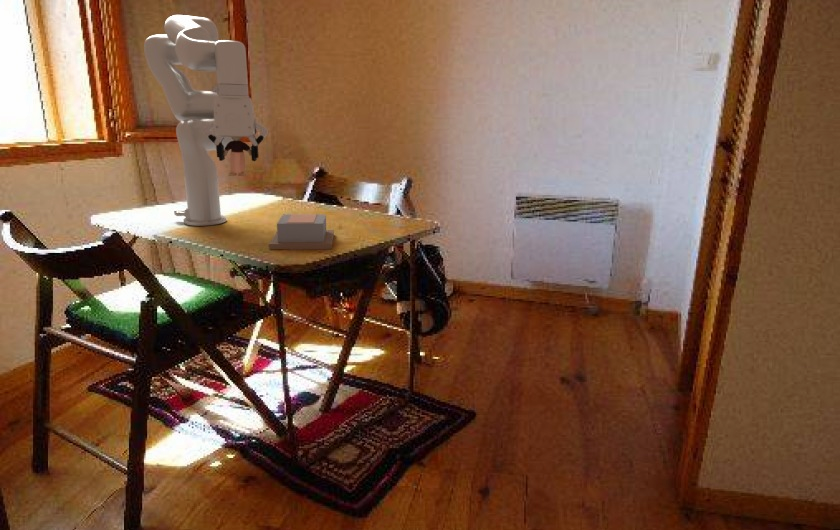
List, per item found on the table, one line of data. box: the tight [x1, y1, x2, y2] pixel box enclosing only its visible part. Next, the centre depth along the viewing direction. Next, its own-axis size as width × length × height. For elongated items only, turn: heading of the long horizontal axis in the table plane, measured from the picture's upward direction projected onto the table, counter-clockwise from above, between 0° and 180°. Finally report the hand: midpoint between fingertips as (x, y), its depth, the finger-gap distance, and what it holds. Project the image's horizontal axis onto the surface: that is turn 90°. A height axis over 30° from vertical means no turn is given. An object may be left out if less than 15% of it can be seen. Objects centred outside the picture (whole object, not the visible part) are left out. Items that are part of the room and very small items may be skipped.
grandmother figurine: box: [223, 137, 252, 177], centre depth 145 cm, size 8×4×13 cm, turn 106°
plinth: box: [268, 213, 335, 251], centre depth 149 cm, size 16×16×7 cm
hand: (238, 160), depth 145 cm, fingers closed on grandmother figurine, 7 cm apart
